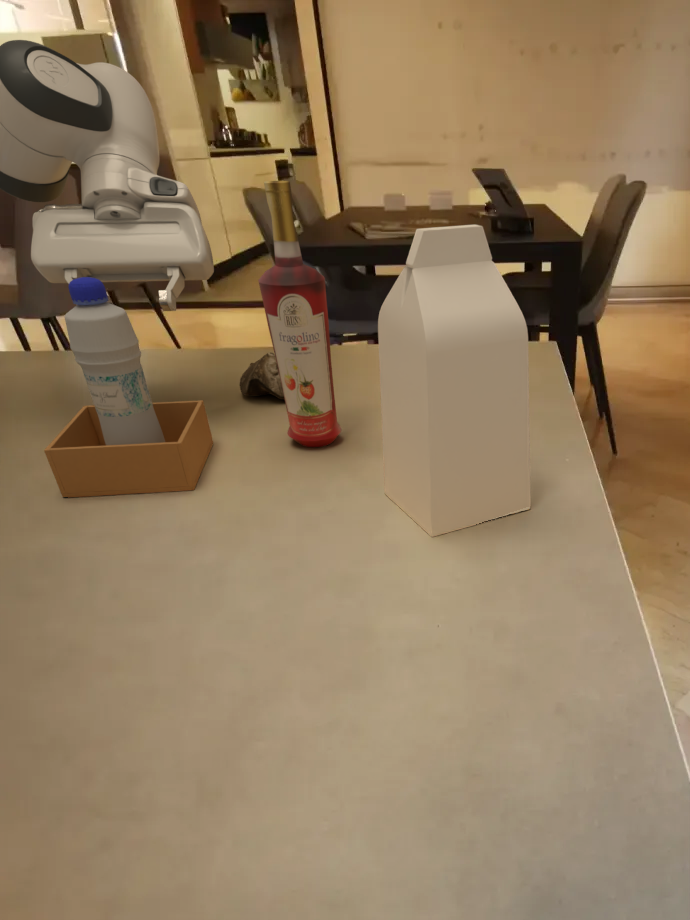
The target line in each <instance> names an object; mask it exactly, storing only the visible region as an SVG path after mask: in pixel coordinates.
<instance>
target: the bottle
mask: <svg viewBox="0 0 690 920" xmlns="http://www.w3.org/2000/svg"><path fill="white" fill-rule="evenodd" d="M68 292H69V295H70V298H71V300H72V304H73V305H75V306H74V307H73V308H71V309H70V310H69V311H68V312H66V313H65V314H64V322H65V326H66V327H65V328H66V331H67V336H68V342H69V349H70V350H71V351H72V353H73V355H74V360H75V362H76V363H77V364H78V366H80V368H81V370H82V374H83V376H84V379H85V382H86V386H87V388H88V392H89V394H90V396H91V400H92V402H93V405H94V406H95V409H96V412H97V414H98V417H99V421H100V425H101V429H102V433H103V437H104V440H105V444H106V445H125V444H144V443H164V442H165V439H164V436H163V432H162V430H161V427H160V424H159V422H158V419H157V416H156V414H155V411H154V408H153V404H152V403H153V401H152V397H151V394H150V389H149V387H148V383H147V379H146V376H145V373H144V370H143V366H142V363H141V356H142V351H141V350H140V349H141V348H140V345H139V343H140V341H139V338H138V337H137V335H136V332H135V330H134V328H133V327H134V326H133V325H132V322H131V319H130V318H129V315H128V314H127V311H126V310H125V309H124V308H123V307H120V306H117V305H115V304H113V303H110V302H109V297H108V292H107V289H106V286H105V285H104V282H101V281H100V280H98V279H96V278H91V277H81V278H77V279H74V280H72V281H71V282H70V283H69V284H68ZM76 304H77V305H76Z"/></svg>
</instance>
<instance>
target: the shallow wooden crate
mask: <svg viewBox="0 0 690 920" xmlns="http://www.w3.org/2000/svg"><path fill="white" fill-rule="evenodd" d="M152 404H153V408H154V411H155V414H156V416H157V419H158V422H159V424H160V427H161V430H162V432H163V436H164V439H165V442H164V443H144V444H125V445H106V444H105V440H104V437H103V433H102V429H101V425H100V421H99V417H98V414H97V412H96V409H95V406H94V404H91V405H89V404H88V405H83V406H82V407H81V409H79V411H77V413H76V414H75V415H74V416H73V417H72V419H70V421H69V422H67V424H66V425H65V426H63V428H62V429H61V430H60V432H59V433H58V434H57V435H56V436H54V439H52V441H50V443H49V444H48V445H47V446H46V447H45V448H44V449H43V452H44V454H45V457H46V459H47V461H48V464H49V467H50V469H51V472H52V473H53V476H54V479H55V481H56V484H57V487H58V489H59V492H60V494H61V497H62V498H63V497H68V498H83V497H98V496H99V497H100V496H114V495H115V496H116V495H117V496H119V495H132V494H133V495H135V494H150V493H168V492H185V491H186V492H187V491H194V490H195V489H196V487H197V484H198V482H199V479H200V477H201V474H202V472H203V469H204V468H205V465H206V462H207V460H208V458H209V455H210V454H211V453H210V452H211V450H212V448H213V445H214V439H213V434H212V432H211V427H210V423H209V419H208V415H207V410H206V407H205V403H204V400H202V399H201V400H182V401H181V400H179V401H178V400H177V401H159V402H156V401H155V402H152Z"/></svg>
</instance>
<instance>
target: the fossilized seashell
mask: <svg viewBox="0 0 690 920" xmlns="http://www.w3.org/2000/svg"><path fill="white" fill-rule="evenodd" d="M239 390H240V392H241V394H242V395H243V396H257V397H258V396H267V395H272V396H274V397H276V398H278V399H280V400H285V399H284V394H283V389H282V385H281V380H280V375H279V370H278V366H277V361H276V357H275V353H274V352H269V351H268V352H266V353H265V354H264V355H263V356H262V357H260V358H259V359H257V360H256V361H255V362H250V364H249V366H248V367H247V368H246V369H245V370H244V372H243V373H242V375H241V376H240V379H239Z"/></svg>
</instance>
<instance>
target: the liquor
mask: <svg viewBox="0 0 690 920" xmlns="http://www.w3.org/2000/svg"><path fill="white" fill-rule="evenodd" d="M263 185H264V192H265V197H266V202H267V206H268V209H269V213H270V217H271V227H272V236H273V237H272V240H273V250H274V261H275V262H274V263H275V265H273V266H271V267H269V268H268V269H266V270H265V271H264V273H262V275H261V276H260V277H259V279H257V281H258V285H259V290H260V294H261V299H262V304H263V308H264V313H265V319H266V322H267V328H268V332H269V336H270V340H271V345H272V348H273V353H274V354H275V357H276V361H277V366H278V370H279V375H280V380H281V385H282V389H283V394H284V399H283V400H284V404H285V409H286V414H287V419H288V423H289V427H288V429H287V432H286V434H287V436H288V437H289V438H291V439H292V440H293V441H295V442H296V443H298V444H299V445H300V446H302V447H306V448H322V447H326V446H328V445H330V444H332V443H334V441H335V440H336V439H337V438H338V436H339V435H340V434H341V432H342V430H343V429H342V427H341V425H340V424H339V422H338V416H337V407H336V398H335V389H334V388H335V387H334V378H333V377H334V376H333V366H332V354H331V353H332V351H331V337H330V336H331V335H330V324H329V313H328V302H327V292H326V290H327V289H326V280H325V279H326V278H325V276H324V275H322V273H320V272H319V271H318V270H317V269H316V268H313V267H312V266H309V265H307V264H305V263H304V261H303V257H302V252H301V248H300V243H299V237H298V235H297V229H296V225H295V221H294V214H293V212H294V211H293V206H294V205H293V202H294V200H293V193H292V187H291V181H290V180H267V181H263Z"/></svg>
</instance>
